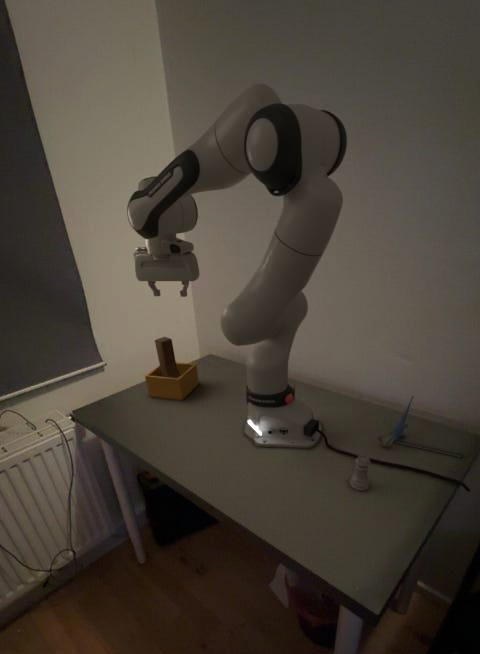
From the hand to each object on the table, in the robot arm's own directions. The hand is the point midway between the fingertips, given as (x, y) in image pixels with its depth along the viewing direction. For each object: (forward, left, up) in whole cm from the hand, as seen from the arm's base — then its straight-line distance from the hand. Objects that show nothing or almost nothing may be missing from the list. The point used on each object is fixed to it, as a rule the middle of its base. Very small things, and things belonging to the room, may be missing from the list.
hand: (170, 296), depth 108 cm
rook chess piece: (-62, +33, -34) cm, 78 cm away
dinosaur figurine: (-70, +12, -34) cm, 79 cm away
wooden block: (+6, -2, -33) cm, 34 cm away
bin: (+6, -2, -34) cm, 35 cm away
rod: (-76, +14, -35) cm, 85 cm away
